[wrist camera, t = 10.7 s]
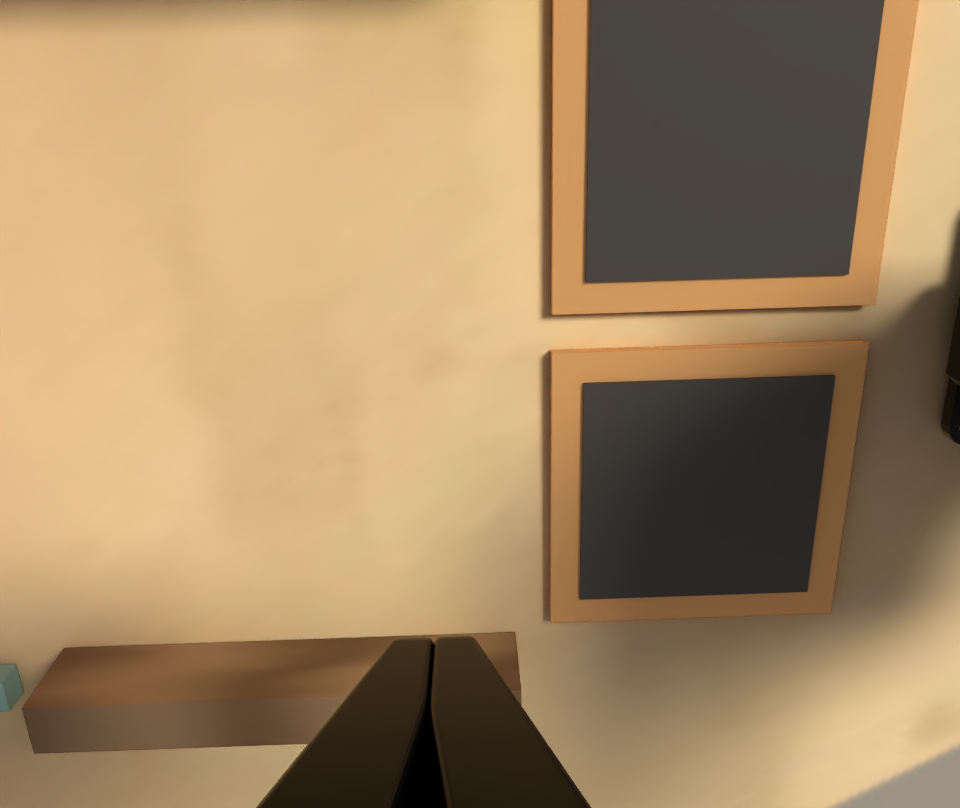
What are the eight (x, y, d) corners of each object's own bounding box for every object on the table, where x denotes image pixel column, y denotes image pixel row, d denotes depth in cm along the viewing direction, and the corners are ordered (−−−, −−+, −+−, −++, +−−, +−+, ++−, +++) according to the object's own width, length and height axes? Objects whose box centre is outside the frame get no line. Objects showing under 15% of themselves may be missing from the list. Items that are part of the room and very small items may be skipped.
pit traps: (920, -59, 18) (930, -62, 18) (826, 606, 24) (832, 615, 24) (552, -50, 18) (554, -53, 18) (549, 616, 24) (551, 624, 24)
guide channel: (504, -157, 17) (511, -195, 15) (515, 674, 25) (521, 735, 22) (-126, -141, 17) (-219, -177, 15) (74, 690, 25) (34, 753, 22)
